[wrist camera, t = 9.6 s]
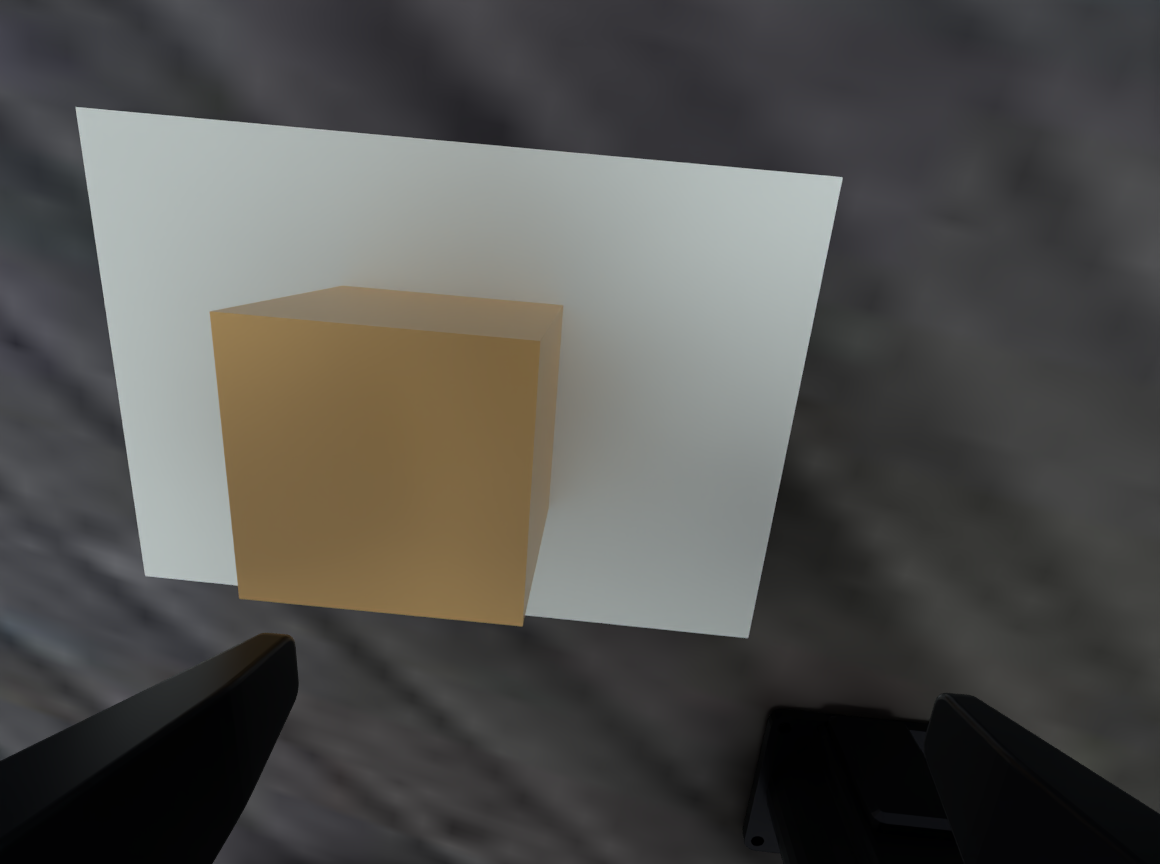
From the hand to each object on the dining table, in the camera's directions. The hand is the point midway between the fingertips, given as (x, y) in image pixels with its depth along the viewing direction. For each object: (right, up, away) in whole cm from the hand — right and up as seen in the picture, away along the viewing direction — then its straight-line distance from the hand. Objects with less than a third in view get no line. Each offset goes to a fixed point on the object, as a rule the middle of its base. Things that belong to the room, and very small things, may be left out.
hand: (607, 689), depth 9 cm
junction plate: (-4, +5, +11) cm, 13 cm away
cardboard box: (-4, +4, +9) cm, 11 cm away
